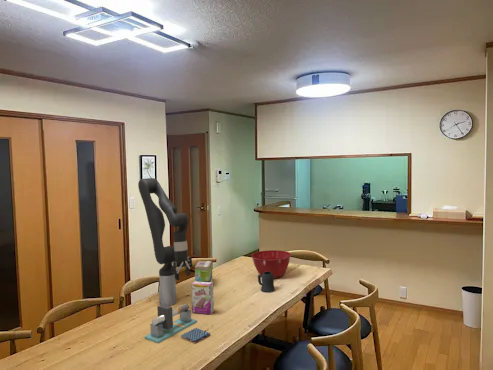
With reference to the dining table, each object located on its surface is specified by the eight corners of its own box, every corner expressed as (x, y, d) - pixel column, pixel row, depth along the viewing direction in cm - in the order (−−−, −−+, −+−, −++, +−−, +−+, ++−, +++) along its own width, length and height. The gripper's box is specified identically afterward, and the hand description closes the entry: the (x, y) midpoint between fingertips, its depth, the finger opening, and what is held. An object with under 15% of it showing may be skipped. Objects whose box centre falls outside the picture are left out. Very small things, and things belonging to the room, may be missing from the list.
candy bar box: (191, 313, 196) (190, 283, 196) (195, 309, 201) (194, 280, 200) (211, 315, 193) (209, 284, 193) (214, 311, 198) (213, 282, 197)
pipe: (158, 338, 167) (157, 320, 166) (150, 335, 169) (150, 317, 169) (191, 320, 185) (190, 304, 184) (184, 318, 187) (183, 302, 187)
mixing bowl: (247, 280, 250) (246, 258, 249) (257, 269, 277) (257, 249, 276) (287, 283, 242) (286, 260, 241) (294, 271, 269) (294, 250, 268)
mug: (278, 289, 230) (277, 272, 229) (269, 293, 223) (268, 275, 223) (263, 285, 238) (263, 269, 237) (254, 289, 231) (253, 272, 231)
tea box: (210, 288, 236) (209, 266, 235) (194, 289, 236) (194, 266, 235) (212, 281, 251) (212, 260, 250) (198, 281, 251) (197, 260, 250)
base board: (157, 343, 164) (157, 340, 164) (144, 338, 169) (144, 336, 169) (196, 322, 185) (196, 319, 185) (184, 318, 190) (184, 316, 190)
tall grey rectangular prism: (168, 329, 170) (167, 309, 170) (158, 326, 174) (157, 306, 174) (173, 327, 173) (172, 307, 172) (162, 324, 177) (162, 304, 176)
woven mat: (196, 330, 177) (195, 326, 177) (211, 336, 170) (211, 332, 170) (179, 338, 169) (179, 334, 169) (195, 345, 162) (194, 341, 162)
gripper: (184, 246, 210) (186, 273, 211) (166, 251, 198) (168, 280, 199) (194, 246, 206) (196, 275, 206) (176, 252, 194) (178, 282, 195)
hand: (182, 277), depth 203 cm, fingers open, 8 cm apart
